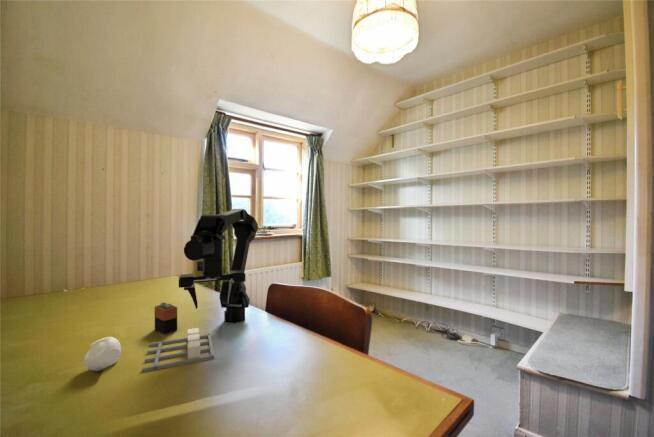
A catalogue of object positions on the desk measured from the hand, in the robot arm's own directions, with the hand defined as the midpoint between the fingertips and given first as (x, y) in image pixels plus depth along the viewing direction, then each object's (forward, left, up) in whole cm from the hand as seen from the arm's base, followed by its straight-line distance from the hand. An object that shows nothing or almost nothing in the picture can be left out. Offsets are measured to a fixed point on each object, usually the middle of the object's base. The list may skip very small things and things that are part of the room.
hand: (213, 306), depth 91 cm
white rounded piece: (+27, +5, -11) cm, 29 cm away
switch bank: (+10, +6, -11) cm, 16 cm away
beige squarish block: (+6, +6, -10) cm, 13 cm away
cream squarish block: (+6, +1, -10) cm, 11 cm away
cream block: (+6, +11, -10) cm, 16 cm away
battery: (+14, -13, -11) cm, 22 cm away
